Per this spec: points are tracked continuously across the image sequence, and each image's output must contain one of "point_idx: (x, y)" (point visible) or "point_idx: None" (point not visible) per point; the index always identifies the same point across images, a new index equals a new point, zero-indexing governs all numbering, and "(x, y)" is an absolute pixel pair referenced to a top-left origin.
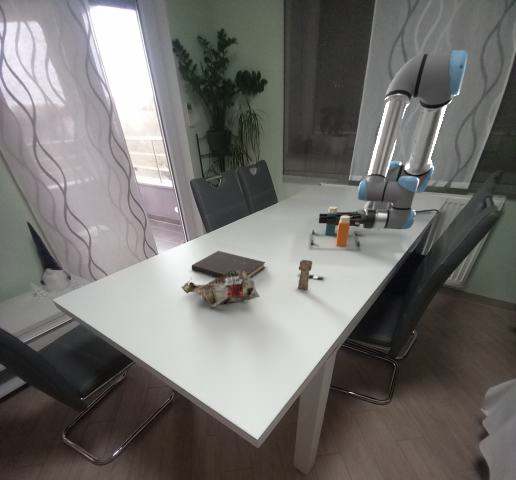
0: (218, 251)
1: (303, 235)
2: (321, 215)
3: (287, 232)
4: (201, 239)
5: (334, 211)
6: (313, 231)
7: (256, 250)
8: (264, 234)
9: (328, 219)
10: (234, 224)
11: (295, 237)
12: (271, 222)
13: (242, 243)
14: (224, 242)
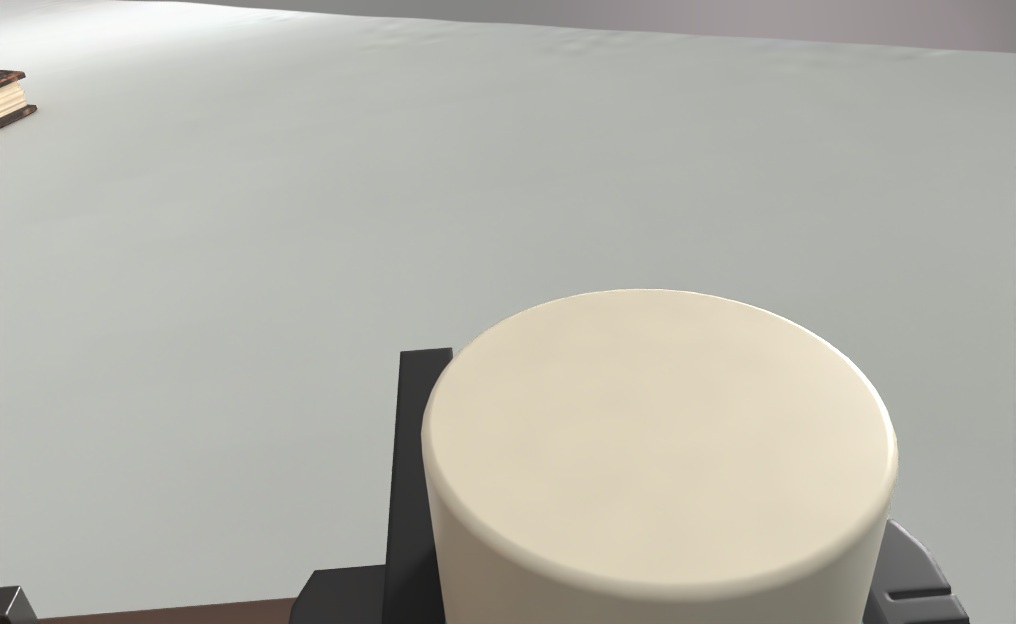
0: (5, 74)
1: None
2: None
3: None
4: (374, 22)
5: (457, 599)
6: None
7: (81, 218)
8: (533, 186)
9: (292, 613)
10: (734, 41)
11: None
12: (955, 162)
13: (280, 137)
14: (312, 81)
